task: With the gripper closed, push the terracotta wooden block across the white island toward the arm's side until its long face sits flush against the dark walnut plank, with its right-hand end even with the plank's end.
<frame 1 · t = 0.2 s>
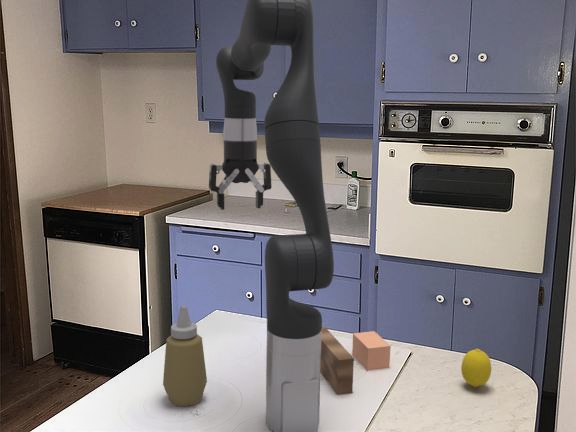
hand: (240, 208, 141), 29 cm above the counter, fingers open, 8 cm apart
squeeze bottle: (185, 400, 113), on the counter
lemon: (474, 388, 119), on the counter
walnut plank: (330, 374, 123), on the counter
terracotta block: (370, 361, 130), on the counter
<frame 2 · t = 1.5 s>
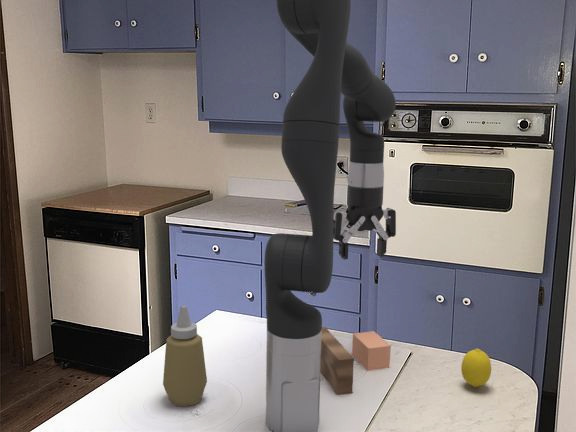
hand: (362, 257, 132), 21 cm above the counter, fingers open, 8 cm apart
nothing on the counter moved.
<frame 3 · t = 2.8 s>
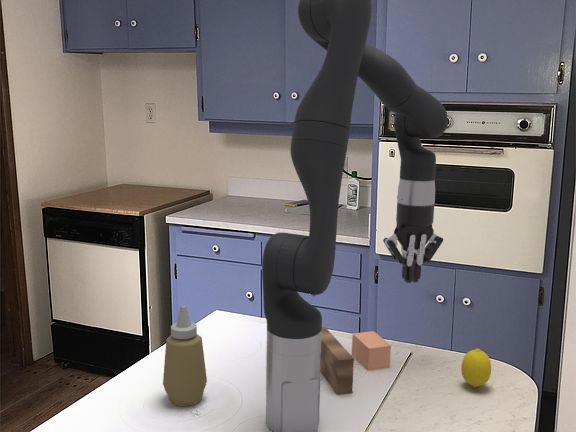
hand: (410, 281, 129), 17 cm above the counter, fingers closed
nothing on the counter moved.
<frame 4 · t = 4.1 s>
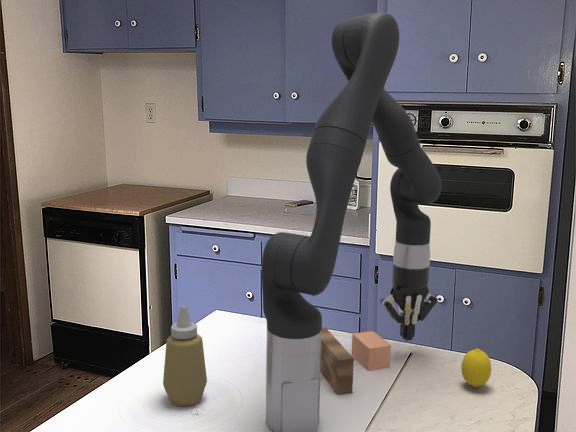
hand: (407, 339, 132), 4 cm above the counter, fingers closed
nothing on the counter moved.
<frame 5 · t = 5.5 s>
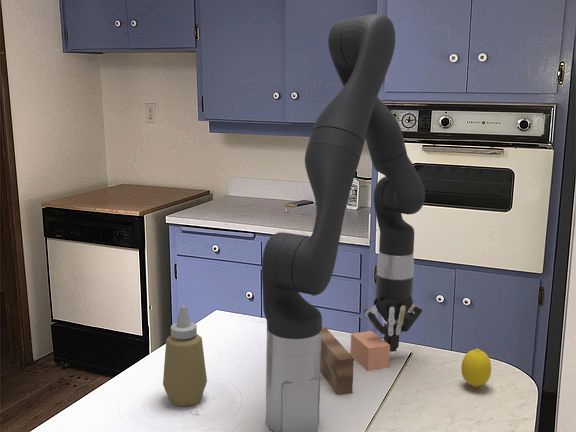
hand: (391, 350, 130), 2 cm above the counter, fingers closed
terracotta block: (369, 361, 130), on the counter, touching gripper
everything else where it was.
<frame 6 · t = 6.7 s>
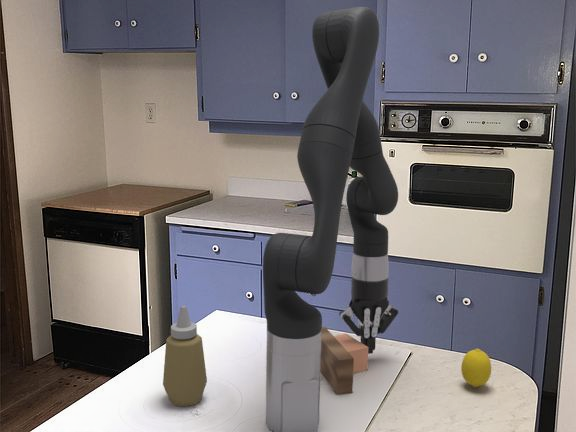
hand: (367, 352, 129), 2 cm above the counter, fingers closed
terracotta block: (346, 364, 128), on the counter, touching gripper, walnut plank
everything else where it was.
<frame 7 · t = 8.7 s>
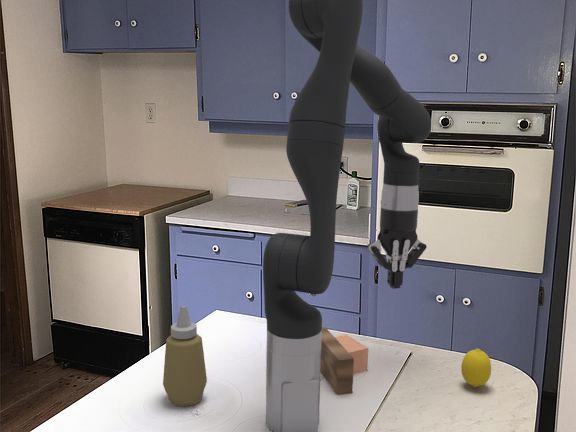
hand: (394, 287, 127), 16 cm above the counter, fingers closed
terracotta block: (346, 365, 128), on the counter
everything else where it was.
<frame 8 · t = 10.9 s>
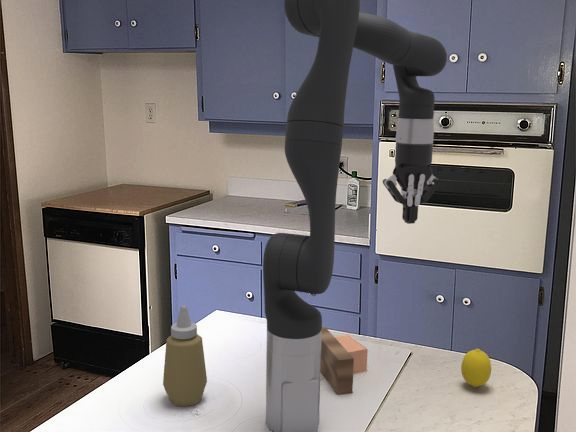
hand: (409, 222, 129), 29 cm above the counter, fingers closed
nothing on the counter moved.
at the end: terracotta block 0.7 cm from the target spot on the counter beside the walnut plank, on the counter; terracotta block tilted 0° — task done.
